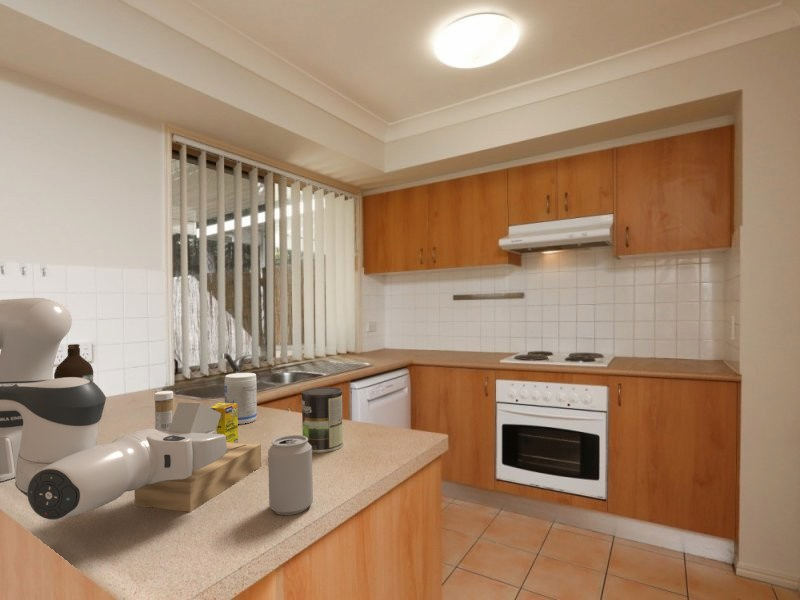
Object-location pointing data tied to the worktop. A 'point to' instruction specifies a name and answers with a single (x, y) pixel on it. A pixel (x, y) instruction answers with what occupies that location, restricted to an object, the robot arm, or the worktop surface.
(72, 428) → the robot arm
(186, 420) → the block
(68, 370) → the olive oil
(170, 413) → the sprinkles bottle
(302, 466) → the can
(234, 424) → the supplement box
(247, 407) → the supplement tub
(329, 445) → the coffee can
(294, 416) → the worktop surface
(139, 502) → the plank
